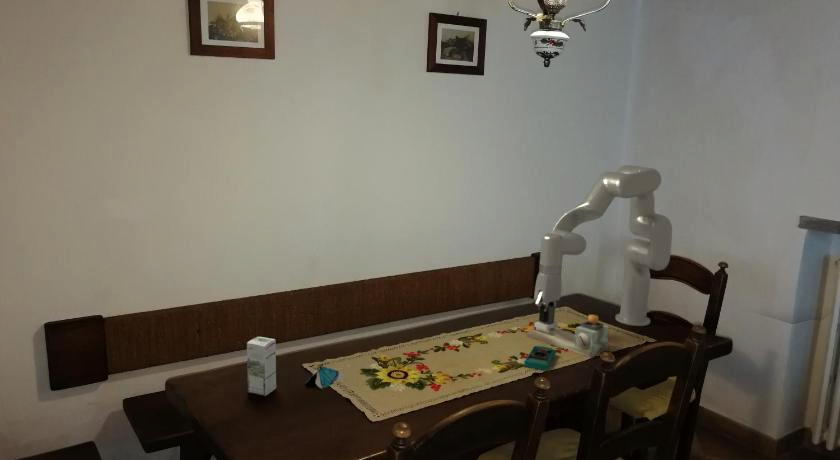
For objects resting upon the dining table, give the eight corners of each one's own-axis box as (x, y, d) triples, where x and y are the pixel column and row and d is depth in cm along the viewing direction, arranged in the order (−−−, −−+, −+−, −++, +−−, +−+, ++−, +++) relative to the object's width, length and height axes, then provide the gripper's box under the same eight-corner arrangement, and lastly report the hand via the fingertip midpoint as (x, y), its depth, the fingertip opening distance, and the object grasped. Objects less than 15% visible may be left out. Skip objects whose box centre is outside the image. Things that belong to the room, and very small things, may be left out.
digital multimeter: (555, 356, 212) (556, 347, 212) (547, 372, 199) (547, 363, 198) (533, 352, 215) (533, 344, 214) (523, 368, 201) (523, 359, 201)
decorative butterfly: (294, 373, 182) (313, 353, 190) (298, 391, 185) (316, 371, 193) (326, 380, 178) (344, 359, 186) (329, 399, 181) (346, 378, 189)
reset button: (591, 319, 218) (591, 314, 218) (599, 322, 216) (600, 316, 215) (586, 321, 216) (586, 315, 215) (594, 324, 213) (595, 318, 213)
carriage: (545, 325, 234) (547, 302, 232) (557, 329, 230) (559, 305, 229) (534, 330, 229) (535, 306, 228) (545, 333, 226) (547, 309, 224)
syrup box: (276, 388, 180) (276, 338, 177) (265, 397, 175) (264, 345, 172) (259, 384, 182) (258, 335, 179) (246, 393, 176) (246, 342, 174)
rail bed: (546, 328, 237) (548, 304, 235) (608, 348, 219) (611, 322, 218) (526, 336, 229) (528, 310, 227) (589, 357, 211) (591, 330, 209)
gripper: (555, 263, 234) (551, 313, 237) (527, 270, 223) (523, 322, 226) (573, 268, 229) (568, 318, 232) (545, 275, 217) (541, 328, 221)
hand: (546, 319), depth 229 cm, fingers closed on carriage, 3 cm apart
